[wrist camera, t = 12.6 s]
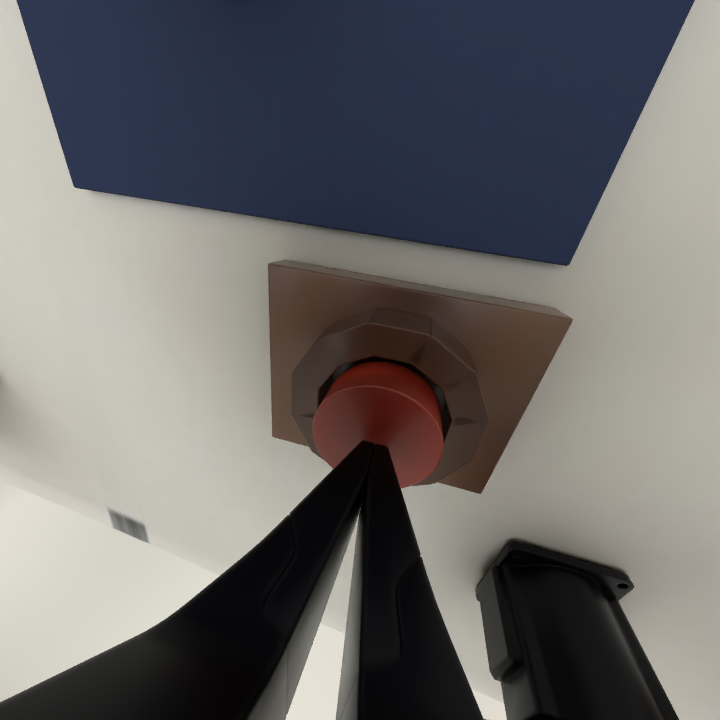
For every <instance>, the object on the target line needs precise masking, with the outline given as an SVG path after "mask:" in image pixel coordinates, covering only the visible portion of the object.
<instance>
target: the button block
mask: <svg viewBox="0 0 720 720" xmlns="http://www.w3.org/2000/svg"><path fill="white" fill-rule="evenodd" d="M268 277H269V318H270V359H271V400H272V436H273V437H276V438H279V439H283V440H286V441H290V442H294V443H297V444H301V445H305V446H308V447H309V448H310V449H311V451H312V452H314V453H315V454H316V455H318V456H319V457H320V458H322V459H323V460H324V458H323V457H322V456H321V454H320V452H319V451H318V449H317V446H316V444H315V441H314V437H313V420H314V416H315V413H316V411H317V409H318V407H319V406H320V404H321V402H322V401H323V399H324V397H325V396H326V394H327V392H328V391H329V389H330V387H331V386H332V384H333V383H334V381H335V380H336V379H337V377H338V376H339V375H341V374H342V373H343V372H344V371H346V370H347V369H349V368H351V367H353V366H356V365H358V364H362V363H367V362H376V361H378V362H389V363H394V364H398V365H401V366H403V367H406V368H408V369H410V370H412V371H413V372H415V373H417V374H418V375H419V376H421V377H422V378H423V379H424V380H425V381H426V382H427V383H428V384H429V385H430V386H431V388H432V389H433V390H434V392H435V394H436V396H437V398H438V400H439V404H440V408H441V419H442V431H443V444H444V447H443V454H442V458H441V460H440V462H439V464H438V466H437V467H436V469H435V470H434V472H433V473H432V474H430V475H429V476H428V477H427V478H426V479H424V480H423V481H421V482H419V483H417V484H414V485H412V486H417V485H428V484H432V483H436V482H439V483H442V484H446V485H450V486H453V487H457V488H461V489H464V490H468V491H471V492H475V493H479V494H481V493H482V491H483V489H484V487H485V485H486V483H487V482H488V480H489V478H490V476H491V474H492V472H493V470H494V468H495V466H496V465H497V463H498V461H499V459H500V457H501V455H502V453H503V451H504V449H505V448H506V446H507V444H508V442H509V440H510V438H511V436H512V434H513V432H514V431H515V429H516V427H517V425H518V423H519V421H520V419H521V417H522V415H523V414H524V412H525V410H526V408H527V406H528V404H529V402H530V400H531V398H532V396H533V395H534V393H535V391H536V389H537V387H538V385H539V383H540V381H541V379H542V378H543V376H544V374H545V372H546V370H547V368H548V366H549V364H550V362H551V361H552V359H553V357H554V355H555V353H556V351H557V349H558V347H559V345H560V344H561V342H562V340H563V338H564V336H565V334H566V332H567V330H568V328H569V327H570V325H571V323H572V320H573V319H572V318H570V317H568V316H567V315H565V314H564V313H562V312H560V311H559V310H557V309H556V308H551V307H545V306H540V305H534V304H529V303H523V302H517V301H512V300H506V299H501V298H495V297H490V296H484V295H478V294H473V293H467V292H462V291H456V290H451V289H445V288H439V287H434V286H428V285H423V284H417V283H412V282H406V281H400V280H395V279H389V278H384V277H378V276H373V275H367V274H361V273H356V272H350V271H345V270H339V269H334V268H328V267H322V266H317V265H311V264H306V263H300V262H295V261H289V260H282V261H277V262H273V263H269V264H268ZM324 461H325V460H324Z"/></svg>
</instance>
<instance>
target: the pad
mask: <svg viewBox="0 0 720 720" xmlns="http://www.w3.org/2000/svg"><path fill="white" fill-rule="evenodd" d="M17 3H18V6H19V9H20V13H21V16H22V19H23V22H24V26H25V29H26V32H27V35H28V39H29V42H30V45H31V48H32V52H33V55H34V58H35V61H36V65H37V68H38V71H39V75H40V78H41V81H42V84H43V88H44V91H45V94H46V97H47V101H48V104H49V107H50V110H51V114H52V117H53V120H54V123H55V127H56V130H57V133H58V136H59V140H60V143H61V146H62V150H63V153H64V156H65V159H66V163H67V166H68V169H69V172H70V176H71V179H72V182H73V185H74V187H76V188H80V189H86V190H93V191H99V192H105V193H112V194H118V195H124V196H130V197H137V198H143V199H149V200H156V201H162V202H168V203H175V204H181V205H187V206H193V207H200V208H206V209H212V210H219V211H225V212H231V213H237V214H244V215H250V216H256V217H263V218H269V219H275V220H282V221H288V222H294V223H300V224H307V225H313V226H319V227H326V228H332V229H338V230H344V231H351V232H357V233H363V234H370V235H376V236H382V237H389V238H395V239H401V240H407V241H414V242H420V243H426V244H433V245H439V246H445V247H451V248H458V249H464V250H470V251H477V252H483V253H489V254H496V255H502V256H508V257H514V258H521V259H527V260H533V261H540V262H546V263H552V264H558V265H565V266H567V265H569V264H570V262H571V260H572V258H573V256H574V254H575V251H576V249H577V247H578V245H579V243H580V241H581V239H582V237H583V235H584V232H585V230H586V228H587V226H588V224H589V222H590V220H591V218H592V216H593V213H594V211H595V209H596V207H597V205H598V203H599V201H600V199H601V197H602V195H603V192H604V190H605V188H606V186H607V184H608V182H609V180H610V178H611V176H612V173H613V171H614V169H615V167H616V165H617V163H618V161H619V159H620V157H621V154H622V152H623V150H624V148H625V146H626V144H627V142H628V140H629V138H630V135H631V133H632V131H633V129H634V127H635V125H636V123H637V121H638V119H639V116H640V114H641V112H642V110H643V108H644V106H645V104H646V102H647V100H648V98H649V95H650V93H651V91H652V89H653V87H654V85H655V83H656V81H657V79H658V76H659V74H660V72H661V70H662V68H663V66H664V64H665V62H666V60H667V57H668V55H669V53H670V51H671V49H672V47H673V45H674V43H675V41H676V38H677V36H678V34H679V32H680V30H681V28H682V26H683V24H684V22H685V19H686V17H687V15H688V13H689V11H690V9H691V7H692V5H693V3H694V0H17Z"/></svg>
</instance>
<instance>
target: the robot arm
mask: <svg viewBox="0 0 720 720" xmlns="http://www.w3.org/2000/svg"><path fill="white" fill-rule="evenodd" d="M360 507H361V508H360ZM359 511H360V513H359ZM358 515H359V519H358V527H357V536H356V545H355V554H354V563H353V571H352V580H351V589H350V598H349V607H348V616H347V624H346V633H345V642H344V652H343V660H342V669H341V678H340V687H339V695H338V704H337V713H336V720H485V719H483V717H482V715H481V712H480V709H479V707H478V704H477V702H476V700H475V698H474V696H473V692H472V690H471V687H470V685H469V682H468V680H467V678H466V675H465V673H464V670H463V668H462V665H461V663H460V661H459V658H458V656H457V653H456V651H455V648H454V646H453V643H452V641H451V639H450V636H449V634H448V631H447V629H446V626H445V623H444V621H443V618H442V616H441V613H440V610H439V608H438V605H437V603H436V600H435V597H434V594H433V591H432V588H431V585H430V582H429V579H428V576H427V573H426V570H425V566H424V563H423V560H422V557H420V550H419V547H418V544H417V541H416V537H415V534H414V531H413V527H412V524H411V521H410V518H409V514H408V511H407V508H406V504H405V501H404V498H403V495H402V491H401V488H400V485H399V481H398V478H397V475H396V471H395V468H394V465H393V462H392V458H391V455H390V452H389V449H388V447H387V446H385V445H381V444H375V446H374V443H373V442H369V441H366V440H362V441H361V442H360V443H359V444H358V445H357V446H356V447H355V448H354V449H353V450H352V451H351V452H350V453H349V454H348V455H347V456H346V457H345V458H344V459H343V460H342V461H341V462H340V463H339V464H338V465H337V466H336V467H335V468H334V469H333V470H332V471H331V472H330V473H329V474H328V475H327V476H326V477H325V478H324V479H323V480H322V481H321V482H320V483H319V484H318V485H317V486H316V487H315V488H314V489H313V490H312V491H311V492H310V493H309V494H308V495H307V496H306V497H305V498H304V499H303V500H302V501H301V502H300V503H299V504H298V505H297V506H296V508H295V509H294V510H293V511H292V512H291V513H290V516H289V515H288V516H286V517H285V518H284V519H283V520H282V522H281V523H280V524H279V525H278V526H277V527H275V528H274V529H273V530H272V531H271V532H270V533H269V534H268V535H267V536H266V537H265V538H264V539H263V540H262V541H261V542H260V543H259V544H257V545H256V546H255V547H254V548H253V549H252V550H250V551H249V552H248V553H247V554H246V555H245V556H243V557H242V558H241V559H240V560H239V561H237V562H236V563H235V564H234V565H233V566H231V567H230V568H229V569H228V570H226V571H225V572H224V573H223V574H222V575H220V576H219V577H218V578H217V579H216V580H214V581H213V582H212V583H211V584H209V585H208V586H207V587H206V588H205V589H203V590H202V591H201V592H200V593H198V594H197V595H196V596H195V597H194V598H192V599H191V600H190V601H189V602H187V603H186V604H185V605H184V606H182V607H181V608H180V609H179V610H177V611H176V612H175V613H173V614H172V615H171V616H169V617H168V618H166V619H165V620H163V621H162V622H160V623H159V624H157V625H156V626H154V627H152V628H150V629H149V630H147V631H145V632H143V633H141V634H139V635H138V636H135V637H133V638H132V639H129V640H127V641H125V642H123V643H121V644H119V645H117V646H115V647H113V648H111V649H109V650H107V651H105V652H103V653H101V654H99V655H97V656H94V657H92V658H90V659H88V660H86V661H85V662H82V663H80V664H78V665H76V666H74V667H72V668H70V669H68V670H66V671H64V672H62V673H60V674H58V675H56V676H53V677H51V678H49V679H47V680H45V681H43V682H41V683H39V684H37V685H35V686H33V687H31V688H29V689H27V690H25V691H23V692H21V693H19V694H17V695H15V696H13V697H11V698H8V699H6V700H4V701H2V702H0V720H285V719H286V714H287V713H288V711H289V708H290V705H291V702H292V699H293V697H294V694H295V691H296V688H297V685H298V683H299V680H300V677H301V674H302V671H303V669H304V666H305V663H306V660H307V658H308V655H309V652H310V649H311V646H312V644H313V640H314V638H315V635H316V632H317V629H318V627H319V624H320V621H321V619H322V616H323V613H324V610H325V607H326V605H327V602H328V599H329V596H330V593H331V591H332V588H333V585H334V582H335V580H336V577H337V574H338V571H339V568H340V566H341V563H342V560H343V557H344V554H345V552H346V549H347V546H348V543H349V541H350V538H351V535H352V532H353V529H354V527H355V524H356V521H357V518H358ZM633 588H634V585H633V583H632V581H631V580H630V578H629V576H628V575H626V574H624V573H621V572H618V571H614V570H611V569H607V568H604V567H601V566H597V565H594V564H590V563H587V562H583V561H580V560H577V559H573V558H570V557H566V556H563V555H560V554H556V553H553V552H549V551H546V550H543V549H539V548H536V547H532V546H529V545H526V544H522V543H519V542H510V543H508V544H507V545H506V546H505V548H504V549H503V551H502V552H501V554H500V555H499V557H498V558H497V559H496V561H495V562H494V564H493V565H492V567H491V568H490V569H489V571H488V572H487V574H486V575H485V577H484V578H483V580H482V581H481V583H480V584H479V585H478V587H477V588H476V590H475V592H476V598H477V600H478V601H480V606H481V613H482V620H483V627H484V634H485V641H486V648H487V655H488V662H489V669H490V672H491V674H492V676H493V678H494V679H495V680H498V681H500V682H501V686H502V692H503V698H504V704H505V710H506V717H507V720H679V718H678V716H677V715H676V713H675V711H674V709H673V707H672V705H671V703H670V701H669V699H668V697H667V695H666V693H665V691H664V689H663V687H662V685H661V683H660V681H659V680H658V678H657V676H656V674H655V672H654V670H653V668H652V666H651V664H650V662H649V660H648V658H647V656H646V654H645V652H644V650H643V648H642V647H641V645H640V643H639V641H638V639H637V637H636V635H635V633H634V631H633V629H632V627H631V625H630V623H629V621H628V619H627V617H626V615H625V614H624V612H623V610H622V608H621V606H620V604H619V602H618V600H620V599H621V598H622V597H623V596H625V595H626V594H627V593H628V592H630V591H631V590H632V589H633Z"/></svg>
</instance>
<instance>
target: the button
mask: <svg viewBox="0 0 720 720" xmlns="http://www.w3.org/2000/svg"><path fill="white" fill-rule="evenodd" d="M313 437H314V441H315V444H316V446H317V449H318V451H319V452H320V454H321V456H322V457H323V458H324V460H325V461H326V462H327V463H328V464H329V465H330V466H331V467H332V468H333V469H334V468H335V467H336V466H337V465H338V464H339V463H340V462H341V461H342V460H343V459H344V458H345V457H346V456H347V455H348V454H349V453H350V452H351V451H352V450H353V449H354V448H355V447H356V446H357V445H358V444H359V443H360V442H361V441H362V440H366V441H369V442H373V443H374V446H375V444H381V445H385V446H387V447H388V449H389V452H390V455H391V458H392V462H393V465H394V468H395V471H396V475H397V478H398V481H399V485H400V488H405V487H409V486H412V485H414V484H417V483H419V482H421V481H423V480H424V479H426V478H427V477H428V476H429V475H430V474H432V473H433V472H434V470H435V469H436V467H437V466H438V464H439V462H440V460H441V458H442V454H443V447H444V444H443V431H442V419H441V408H440V404H439V400H438V398H437V396H436V394H435V392H434V390H433V389H432V388H431V386H430V385H429V384H428V383H427V382H426V381H425V380H424V379H423V378H422V377H421V376H419V375H418V374H417V373H415V372H413V371H412V370H410V369H408V368H406V367H403V366H401V365H398V364H394V363H389V362H378V361H376V362H367V363H362V364H358V365H356V366H353V367H351V368H349V369H347V370H346V371H344V372H343V373H342V374H341V375H339V376H338V377H337V379H336V380H335V381H334V383H333V384H332V386H331V387H330V389H329V391H328V392H327V394H326V396H325V397H324V399H323V401H322V402H321V404H320V406H319V407H318V409H317V411H316V413H315V416H314V420H313Z"/></svg>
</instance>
